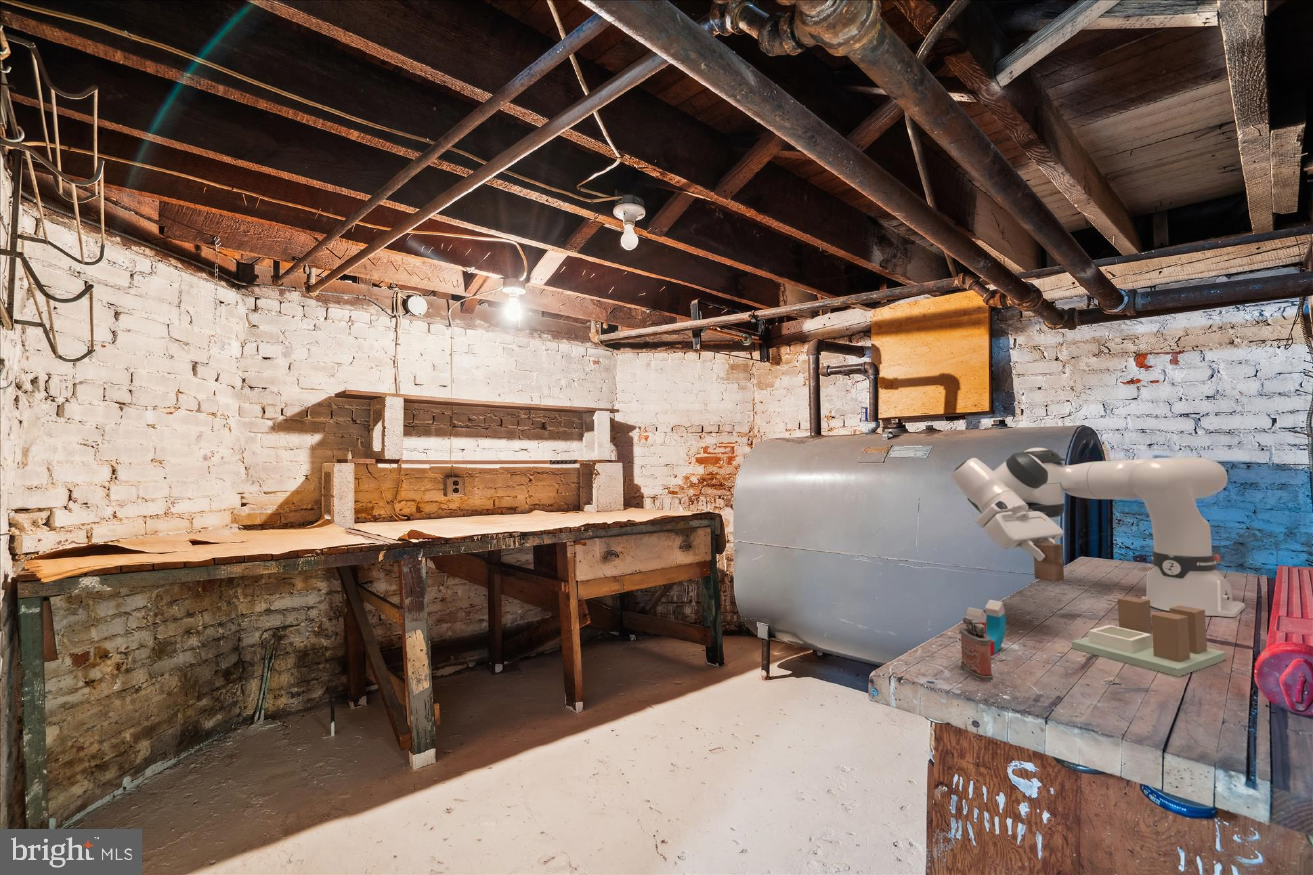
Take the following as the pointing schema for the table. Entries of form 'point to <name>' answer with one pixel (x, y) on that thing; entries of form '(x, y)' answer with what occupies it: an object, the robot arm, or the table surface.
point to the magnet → (991, 622)
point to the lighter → (975, 649)
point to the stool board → (1154, 638)
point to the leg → (1049, 562)
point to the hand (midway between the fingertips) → (1051, 557)
